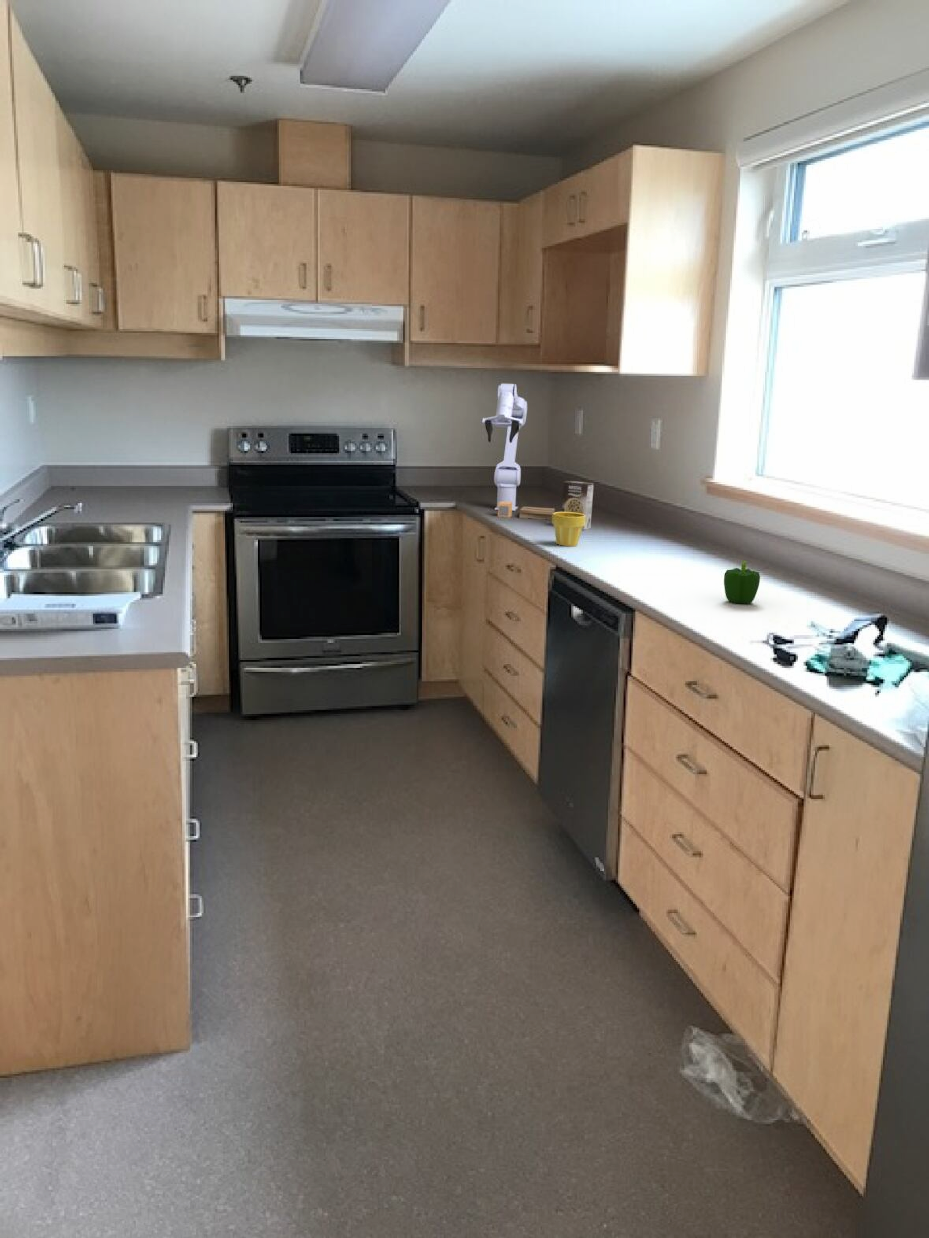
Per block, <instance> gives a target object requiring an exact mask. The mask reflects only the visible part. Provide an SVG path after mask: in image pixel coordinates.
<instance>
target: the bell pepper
mask: <svg viewBox="0 0 929 1238" xmlns="http://www.w3.org/2000/svg"><path fill="white" fill-rule="evenodd" d="M723 575H724V576H723V577H724V578H723V586H724V595H725V597H726V599H727V601H728V602H731V603H733V604H747V605H748V604H752V603H753V602H754V600H755V599H756V595H757V593H758V590H759V586H760V582H761V581H760V580H761V575H760V572H759V571H755V570H752V569H750V568H747V561H746V560H743V561H742V563H741V569H740V568H738V567H735V568H733V569H727V570H726V571H725V573H724V574H723Z"/></svg>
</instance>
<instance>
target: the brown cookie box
mask: <svg viewBox="0 0 929 1238" xmlns="http://www.w3.org/2000/svg"><path fill="white" fill-rule="evenodd" d="M594 484H595V483H594V482H588V481H586V482H585V481H580V480H579V481H577V480H565V481H564V482H563V494H562V505H561V507H562V510H561V512H575V513H581V514H584V515H585V525H584V526H583V527H582V530H581V531H586V530H589V529H591V526H592V525H591V524H592V511H593V497H594Z"/></svg>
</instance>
